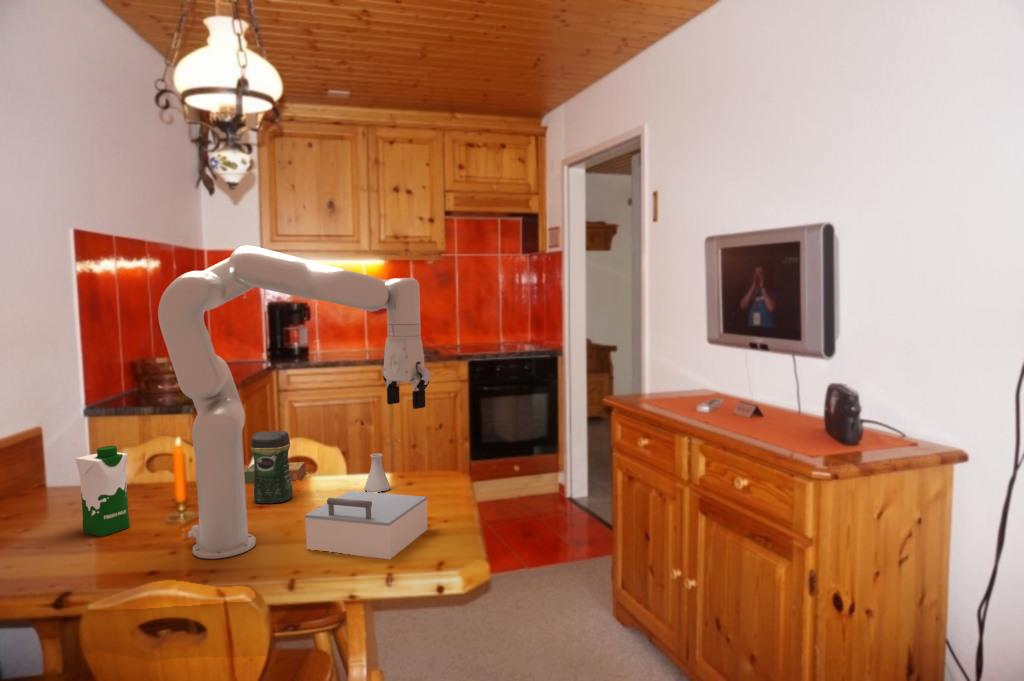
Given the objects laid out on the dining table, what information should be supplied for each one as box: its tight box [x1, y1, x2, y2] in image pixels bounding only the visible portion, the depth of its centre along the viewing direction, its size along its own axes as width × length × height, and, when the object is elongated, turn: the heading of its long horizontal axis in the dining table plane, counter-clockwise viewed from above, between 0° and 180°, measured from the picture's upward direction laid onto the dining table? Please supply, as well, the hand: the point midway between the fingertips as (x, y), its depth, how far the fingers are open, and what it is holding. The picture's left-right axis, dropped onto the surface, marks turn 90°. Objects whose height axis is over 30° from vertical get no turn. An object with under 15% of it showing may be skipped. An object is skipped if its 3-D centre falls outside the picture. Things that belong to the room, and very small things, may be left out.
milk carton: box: [75, 445, 131, 538], centre depth 158 cm, size 9×9×20 cm
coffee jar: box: [250, 430, 294, 504], centre depth 180 cm, size 10×8×19 cm
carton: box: [244, 461, 307, 484], centre depth 201 cm, size 8×16×4 cm, turn 94°
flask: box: [363, 453, 392, 493], centre depth 187 cm, size 7×7×10 cm
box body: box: [304, 499, 428, 560], centre depth 150 cm, size 20×18×7 cm
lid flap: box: [304, 490, 428, 526], centre depth 149 cm, size 20×18×4 cm
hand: (406, 405), depth 156 cm, fingers open, 9 cm apart
